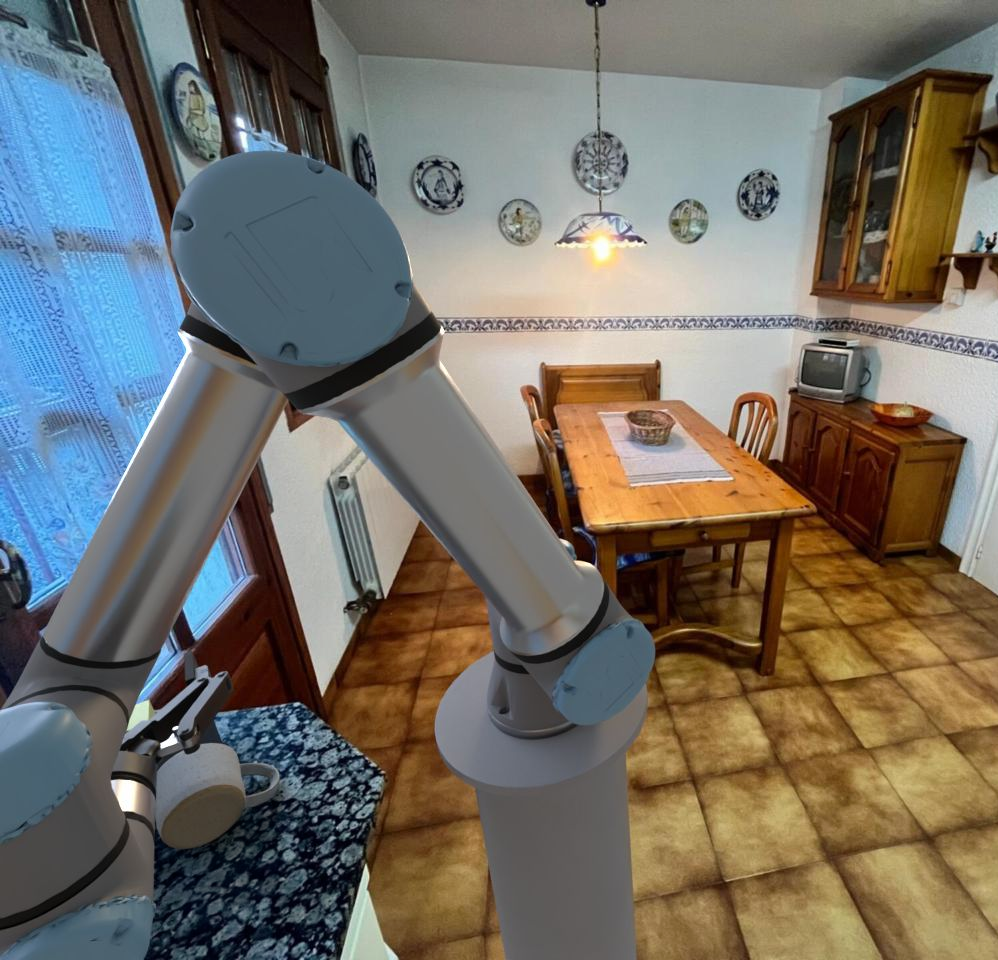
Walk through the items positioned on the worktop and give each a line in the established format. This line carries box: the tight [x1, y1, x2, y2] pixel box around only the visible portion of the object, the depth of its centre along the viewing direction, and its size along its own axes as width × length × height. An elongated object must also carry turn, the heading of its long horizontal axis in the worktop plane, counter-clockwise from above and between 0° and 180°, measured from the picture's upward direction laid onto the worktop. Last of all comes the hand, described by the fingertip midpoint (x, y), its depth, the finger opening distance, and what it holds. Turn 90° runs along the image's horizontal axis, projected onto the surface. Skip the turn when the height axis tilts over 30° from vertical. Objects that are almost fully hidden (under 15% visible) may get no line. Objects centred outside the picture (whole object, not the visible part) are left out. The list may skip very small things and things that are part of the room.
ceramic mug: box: [155, 743, 281, 850], centre depth 58 cm, size 11×8×8 cm
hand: (114, 688), depth 59 cm, fingers open, 13 cm apart
